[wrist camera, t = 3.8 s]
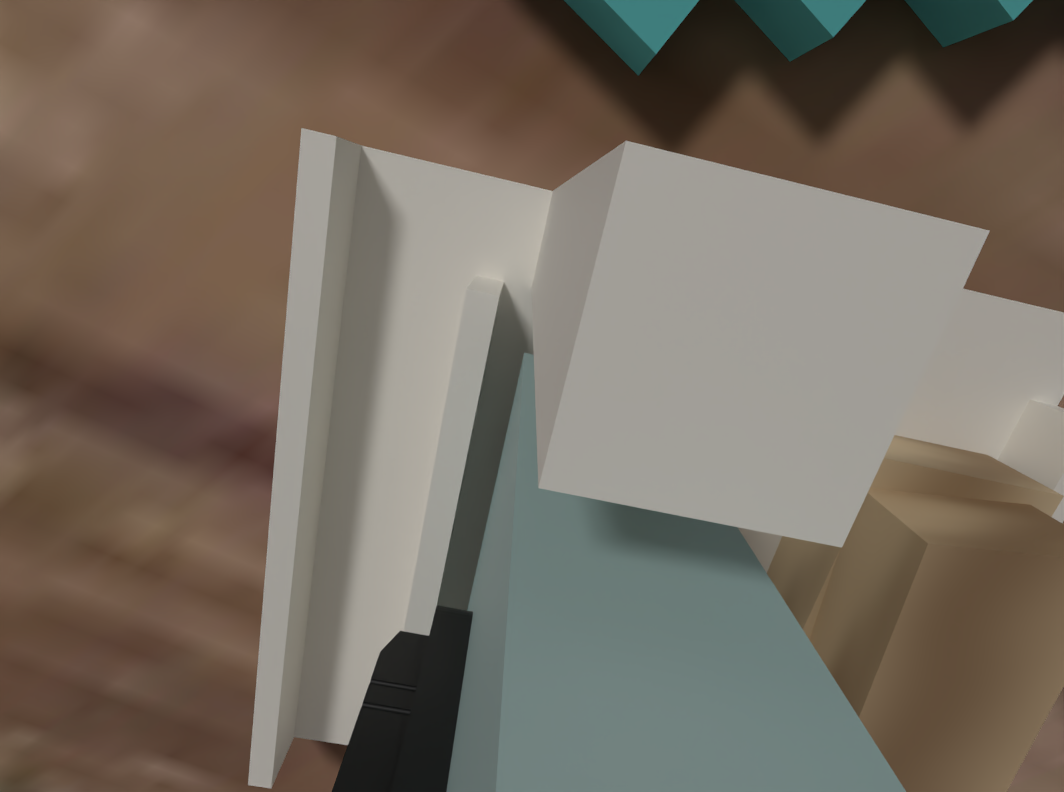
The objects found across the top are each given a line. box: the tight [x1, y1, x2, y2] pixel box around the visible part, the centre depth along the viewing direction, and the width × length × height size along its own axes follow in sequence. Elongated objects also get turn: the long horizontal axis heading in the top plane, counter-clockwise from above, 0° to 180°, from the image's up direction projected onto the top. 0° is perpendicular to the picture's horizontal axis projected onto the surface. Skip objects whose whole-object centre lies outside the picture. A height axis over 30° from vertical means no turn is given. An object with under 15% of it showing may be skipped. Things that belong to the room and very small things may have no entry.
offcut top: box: [809, 488, 1064, 792], centre depth 12 cm, size 4×7×2 cm, turn 173°
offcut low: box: [767, 435, 1064, 639], centre depth 14 cm, size 4×9×2 cm, turn 168°
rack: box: [248, 128, 1064, 788], centre depth 10 cm, size 17×16×10 cm
